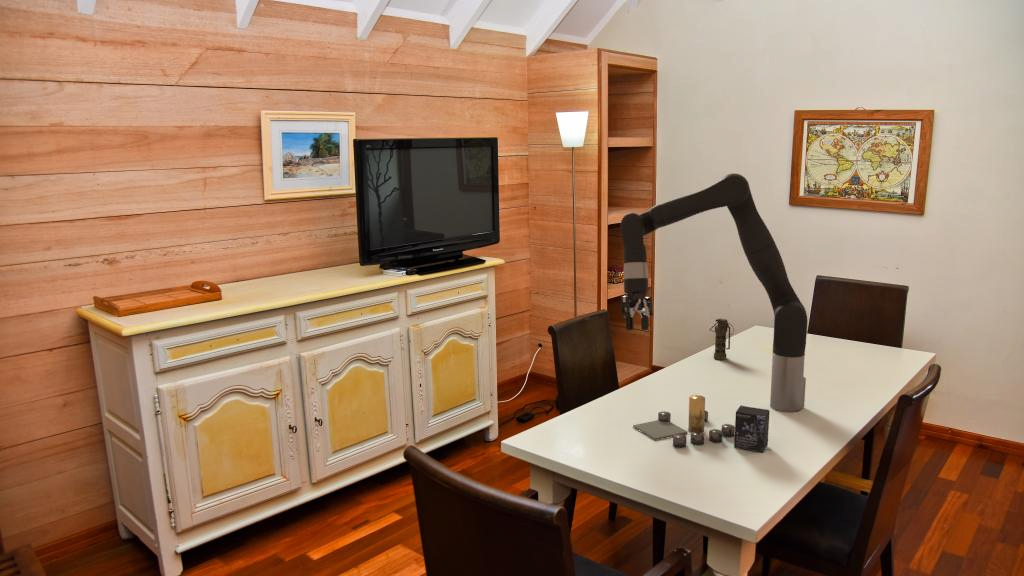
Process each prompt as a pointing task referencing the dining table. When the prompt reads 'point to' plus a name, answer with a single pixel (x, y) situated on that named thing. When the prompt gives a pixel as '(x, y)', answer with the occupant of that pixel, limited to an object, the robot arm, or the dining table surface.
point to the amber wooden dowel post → (696, 413)
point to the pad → (660, 429)
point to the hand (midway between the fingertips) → (637, 330)
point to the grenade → (721, 338)
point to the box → (751, 428)
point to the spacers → (698, 437)
